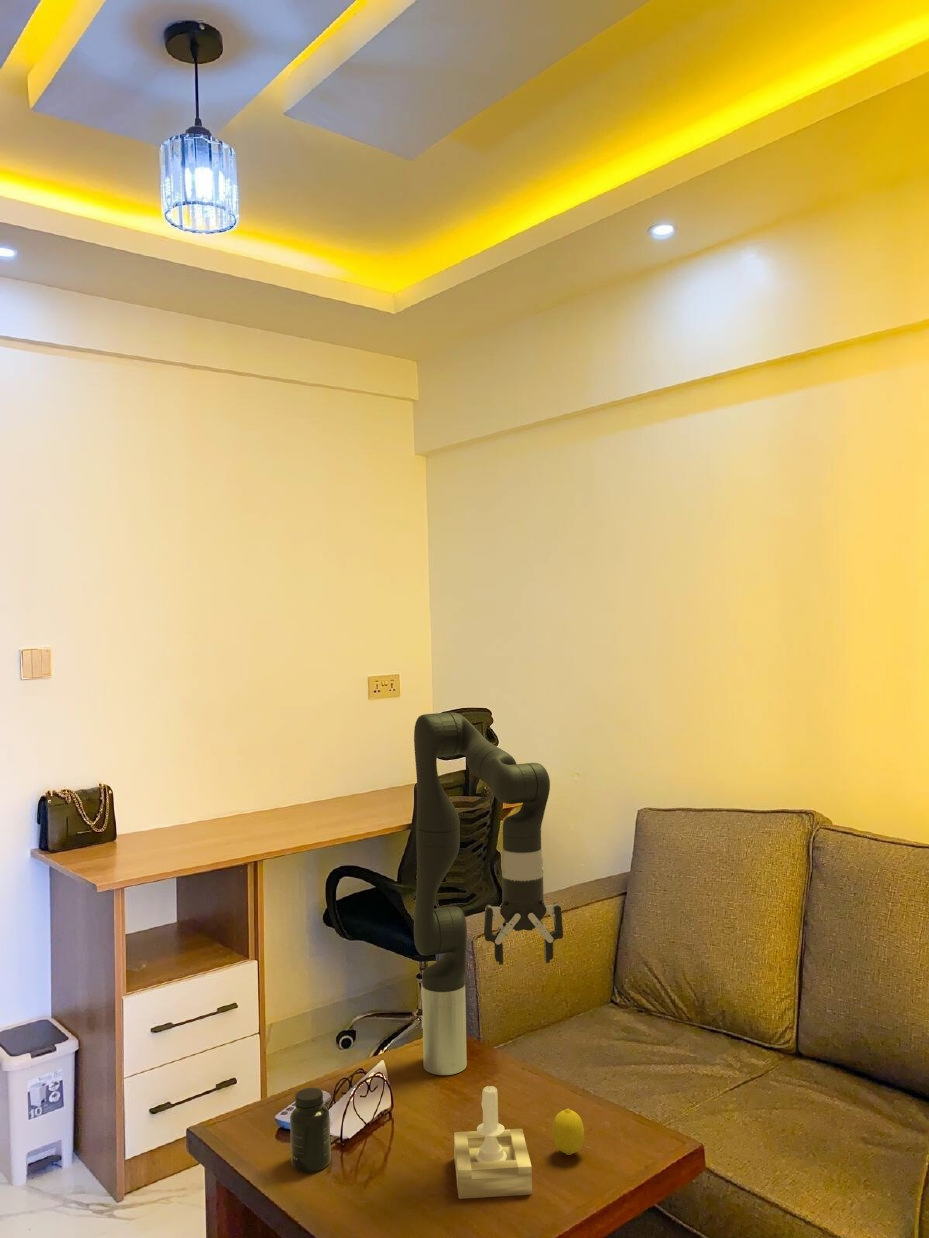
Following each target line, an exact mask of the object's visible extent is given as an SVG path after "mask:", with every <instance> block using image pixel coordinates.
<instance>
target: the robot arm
mask: <svg viewBox="0 0 929 1238" xmlns="http://www.w3.org/2000/svg"><path fill="white" fill-rule="evenodd" d="M413 743H414V744H413V745H414V757H415V758H414V759H415V770H416V772H415V773H416V774H415V775H416V789H417V790H416V796H417V797H416V798H417V799H416V804H417V805H416V829H415V830H416V839H415V840H416V842H415V843H416V844H415V845H416V887H415V888H416V889H415V902H414V913H413V915H414V916H413V940H414V947H415V949H416V951H417V952H418V954H419V955H421V956H433V955H441V954H443V955H442V957H441V958H440V959H438V960H437V961H436V962H434V963H433V964H430V965H429V966H428V967H426V968H424V970H423V971H422V973H421V1000H422V1001H421V1002H422V1005H421V1006H422V1053H423V1054H422V1055H423V1056H422V1059H423V1061H422V1062H423V1069H424V1070H425V1071H426V1072H427V1073H429V1074H432V1075H437V1076H451V1075H455V1074H458V1073H460V1072H463V1071H464V1070H465V1069H466V1068H467V1059H468V1058H467V1011H466V1010H467V1009H466V1006H467V1005H466V1002H467V1001H466V975H467V974H466V973H467V943H468V928H467V927H468V926H467V921H466V916H465V913H464V911H463V910H462V909H461V907H458V906H446V907H445V906H444V907H438V908H435V904H436V903H435V902H436V899H437V897H436V896H437V893H438V891H439V888H440V886H441V885H442V882H443V881H444V879H445V877H446V875H447V874H448V872H449V871H450V869H451V867H452V866H453V864H454V862H455V860H456V858H457V856H458V853H459V850H460V844H461V840H460V837H461V836H460V833H461V831H460V830H461V823H460V822H461V821H460V816H459V814H458V810H457V809H456V807H455V805H454V804H453V802H452V800H451V799H450V798H449V796H448V794H447V793H446V791H445V789H444V788H443V786H442V783H441V781H440V778H439V772H438V765H437V763H438V762H437V759H438V758H444V757H445V758H446V757H453V756H457V755H462V756H464V757H465V760H466V761H465V762H466V765H467V768H468V769H469V770H470V772H471V773H472V774H473V775H474V776H475V777H476V778H478V779H479V780H481V781H482V782H484V783H486V785H487V787H488V788H489V789H490V791H491V792H492V795H493V797H494V799H496V800H497V801H499V802H500V803H503V804H506V805H516V804H521V807H520V809H519V810H518V811H517V812H516V813H514V814H511V815H509V816H507V817H505V819H504V820H503V822H502V857H501V887H502V888H501V891H502V893H501V895H502V900H501V905H500V906H492V905H491V904H486V905H485V907H484V924H483V925H484V926H483V929H484V930H483V935H484V936H483V937H484V940H485V941H486V942H491V943H493V944H494V945H493V946H494V947H493V949H494V958H495V959H494V960H495V962H498V965H499V966H503V965H504V945H503V941H504V939H505V938H506V937H507V936H508V935H509V934H510V933H511V931H512V930H514V931H515V932H521V931H523V930H525V931H533V930H535V929H537V931H538V932H539V933H540V935H542V936H543V938H544V940H543V944H544V946H543V947H544V949H543V952H544V954H543V956H544V962H545V964H550V963H551V960H553V958H554V943H555V941H556V940H561V939H563V938H564V930H563V929H564V927H563V926H564V925H563V918H562V917H563V915H562V914H563V913H562V908H561V906H560V905H561V904H560V903H558V902H553V903H552V904H548V905H546V904H545V902H544V872H545V871H544V861H543V859H544V858H543V853H542V852H543V851H542V826H543V825H542V824H543V821H544V816H545V812H546V811H545V810H546V808H547V802H548V801H549V800H548V799H549V795H550V791H551V790H550V789H551V780H550V776H549V773H548V771H547V769H546V768H545V767H544V765H542V764H541V763H539V762H526V763H517V762H516V760H515V758H514V757H513V756H512V755H511V754H510V753H508V752H506V751H505V750H503V749H502V748H500V747H498V746H497V745H495V744H493V743H491V742H490V741H489V740H488V739H487V738H485V736H483V735H482V734H481V732H480V731H479V730H478V729H477V728H476V727H475V726H474V725H473V724H472V723H471V722H470V721H469V720H468V719H467V717H465V716H464V715H462V714H461V713H458V712H440V713H439V712H436V713H425V714H421V715H419V716H418V717H417V718H416V721H415V723H414V731H413ZM546 913H548V914H549V915H550V917H551V918H553V926H554V927H553V929H554V930H551V931H550V930H549V929H548V928H547V926H546V925H545V923H544V922H543V921H542V920H543V918H544V916H545V915H546ZM498 914H500V915H501V917H502V918H503V919H504V920H503V922H502V923H501V924H500V926H499V928H498V930H497V931H496V932H495V933H494V932H493V920H496V919H497V917H498Z"/></svg>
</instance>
